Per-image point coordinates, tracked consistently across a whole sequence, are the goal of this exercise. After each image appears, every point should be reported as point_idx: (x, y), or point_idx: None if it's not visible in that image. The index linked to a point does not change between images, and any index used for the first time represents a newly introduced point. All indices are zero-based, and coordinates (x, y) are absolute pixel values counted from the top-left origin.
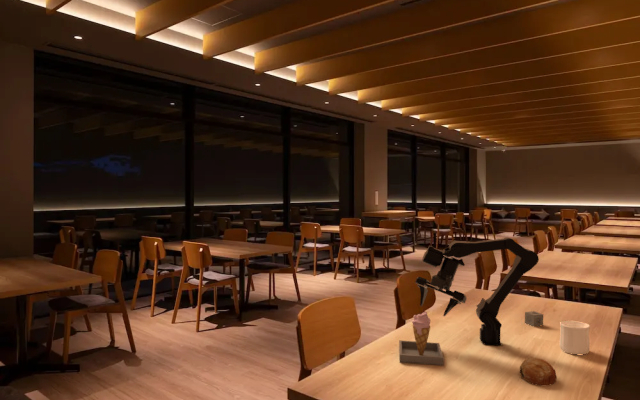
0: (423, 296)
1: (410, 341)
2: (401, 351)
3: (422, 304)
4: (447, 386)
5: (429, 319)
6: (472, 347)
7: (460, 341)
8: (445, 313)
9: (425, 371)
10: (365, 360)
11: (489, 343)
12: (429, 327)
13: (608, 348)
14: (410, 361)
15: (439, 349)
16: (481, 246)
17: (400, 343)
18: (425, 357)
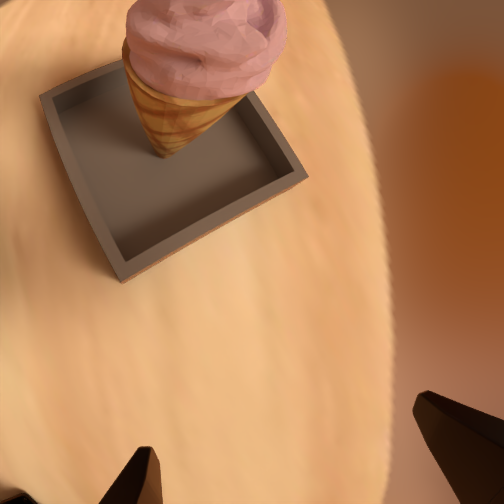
0: (492, 441)
1: (261, 194)
2: None
3: (423, 422)
4: (25, 14)
5: (135, 16)
6: (29, 436)
7: (114, 478)
8: (129, 466)
9: (96, 40)
10: (294, 34)
11: (10, 502)
12: (123, 44)
13: None
14: None
15: (79, 179)
16: None
17: (280, 139)
18: (113, 65)
